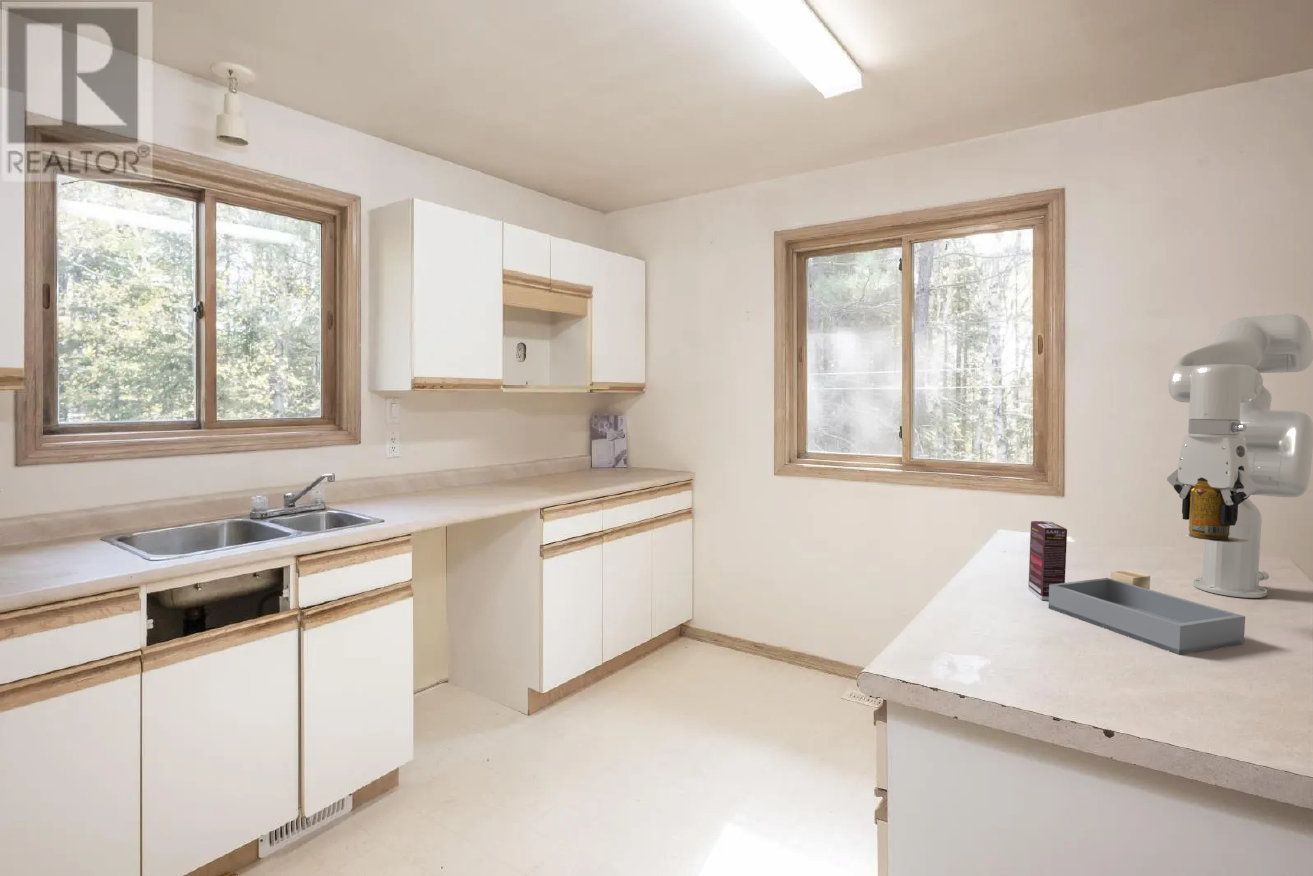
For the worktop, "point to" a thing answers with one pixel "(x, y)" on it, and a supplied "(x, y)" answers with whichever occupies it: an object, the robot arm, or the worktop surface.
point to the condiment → (1207, 514)
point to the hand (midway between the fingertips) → (1208, 521)
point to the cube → (1132, 578)
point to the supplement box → (1046, 557)
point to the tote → (1148, 615)
